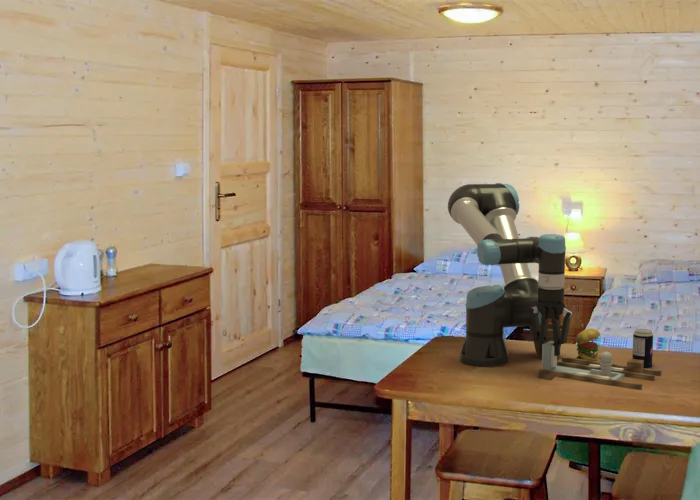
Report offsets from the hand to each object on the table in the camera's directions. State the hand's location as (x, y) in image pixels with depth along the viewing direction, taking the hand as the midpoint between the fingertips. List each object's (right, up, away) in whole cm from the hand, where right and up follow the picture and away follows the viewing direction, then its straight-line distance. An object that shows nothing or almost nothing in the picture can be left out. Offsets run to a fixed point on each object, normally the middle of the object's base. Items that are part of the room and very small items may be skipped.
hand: (549, 365), depth 269 cm
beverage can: (+29, -2, +4) cm, 29 cm away
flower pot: (+4, 0, +20) cm, 21 cm away
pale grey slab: (+8, -3, -6) cm, 10 cm away
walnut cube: (+23, -2, -6) cm, 24 cm away
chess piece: (+14, -4, -10) cm, 17 cm away
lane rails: (+13, -3, -6) cm, 15 cm away
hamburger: (+15, -1, +13) cm, 20 cm away
